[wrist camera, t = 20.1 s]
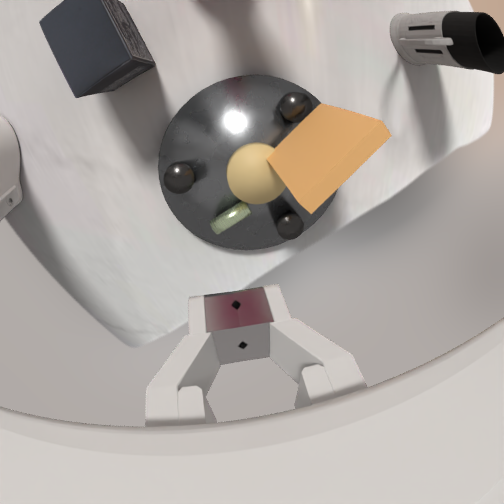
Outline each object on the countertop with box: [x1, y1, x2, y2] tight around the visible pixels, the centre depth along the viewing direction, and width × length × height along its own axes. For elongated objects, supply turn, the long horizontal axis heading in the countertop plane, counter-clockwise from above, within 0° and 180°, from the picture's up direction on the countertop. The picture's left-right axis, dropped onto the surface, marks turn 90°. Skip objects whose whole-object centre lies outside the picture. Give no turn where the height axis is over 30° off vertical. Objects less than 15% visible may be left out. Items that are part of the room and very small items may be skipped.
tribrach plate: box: [158, 75, 337, 250], centre depth 32 cm, size 23×23×4 cm
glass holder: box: [390, 11, 504, 74], centre depth 18 cm, size 9×14×15 cm, turn 114°
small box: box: [39, 0, 155, 98], centre depth 17 cm, size 11×6×10 cm, turn 23°
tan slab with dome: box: [226, 103, 392, 214], centre depth 25 cm, size 14×7×14 cm, turn 137°
